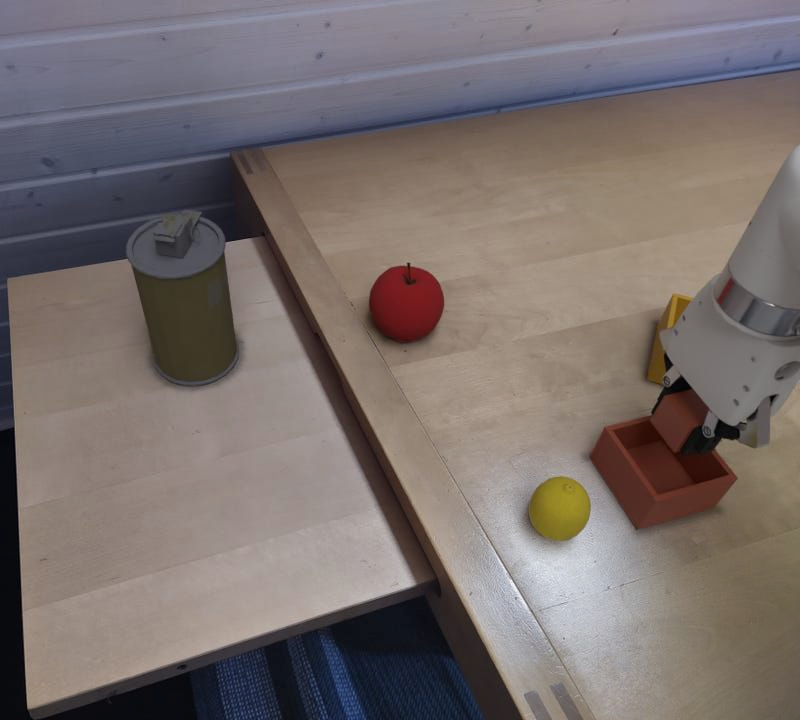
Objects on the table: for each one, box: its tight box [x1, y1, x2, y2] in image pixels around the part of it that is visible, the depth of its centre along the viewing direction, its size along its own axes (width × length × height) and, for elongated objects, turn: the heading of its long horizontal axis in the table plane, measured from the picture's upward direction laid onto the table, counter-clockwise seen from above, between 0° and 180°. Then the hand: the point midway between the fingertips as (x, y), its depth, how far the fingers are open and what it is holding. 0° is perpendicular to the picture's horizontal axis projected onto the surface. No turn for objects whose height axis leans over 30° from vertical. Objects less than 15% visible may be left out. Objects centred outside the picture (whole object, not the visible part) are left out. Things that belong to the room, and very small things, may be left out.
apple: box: [368, 262, 445, 343], centre depth 87 cm, size 9×9×10 cm
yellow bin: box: [646, 292, 694, 386], centre depth 85 cm, size 10×10×6 cm
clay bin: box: [589, 414, 739, 531], centre depth 73 cm, size 9×9×6 cm
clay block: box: [650, 389, 709, 453], centre depth 68 cm, size 4×4×4 cm
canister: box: [125, 209, 240, 387], centre depth 81 cm, size 11×10×20 cm
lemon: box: [528, 475, 592, 542], centre depth 69 cm, size 6×6×8 cm
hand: (680, 430), depth 69 cm, fingers closed on clay block, 4 cm apart
